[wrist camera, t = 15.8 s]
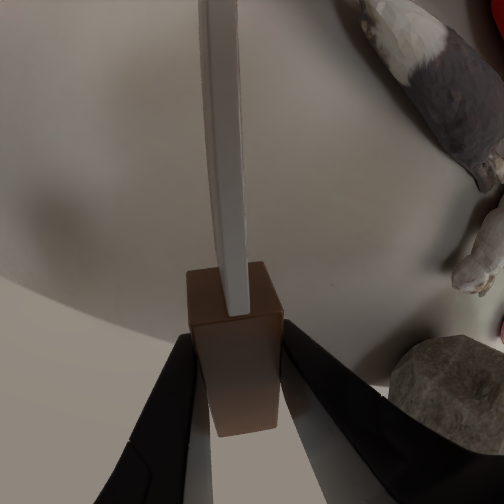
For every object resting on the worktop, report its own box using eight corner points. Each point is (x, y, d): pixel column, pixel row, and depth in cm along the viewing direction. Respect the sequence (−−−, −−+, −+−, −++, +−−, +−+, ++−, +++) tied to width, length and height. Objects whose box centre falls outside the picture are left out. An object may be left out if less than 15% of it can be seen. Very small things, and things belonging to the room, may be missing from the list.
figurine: (500, 54, 7) (354, 336, 14) (580, 189, 12) (490, 339, 20) (437, 45, 11) (325, 281, 18) (544, 165, 16) (464, 305, 23)
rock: (572, 509, 3) (610, 323, 9) (328, 379, 17) (439, 260, 23) (476, 550, 9) (544, 425, 16) (336, 463, 24) (423, 367, 30)
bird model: (536, 172, 13) (479, 152, 17) (438, -68, 4) (346, -42, 8) (517, 228, 14) (459, 202, 18) (410, -13, 5) (303, 14, 9)
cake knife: (264, 383, 11) (281, 440, 9) (211, 392, 11) (220, 450, 8) (254, -61, 4) (288, -115, 2) (159, -57, 4) (149, -114, 1)
